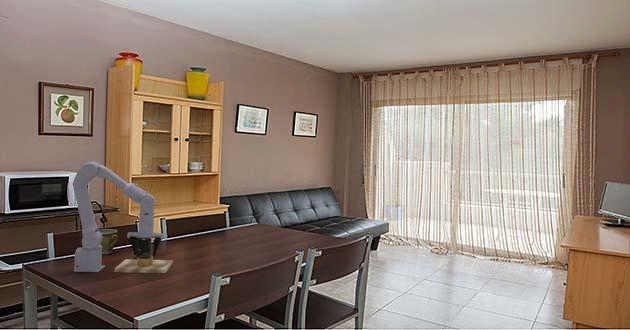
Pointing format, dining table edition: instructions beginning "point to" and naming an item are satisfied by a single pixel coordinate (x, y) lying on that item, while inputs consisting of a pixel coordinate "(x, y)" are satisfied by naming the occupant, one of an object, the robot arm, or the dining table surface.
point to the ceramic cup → (108, 240)
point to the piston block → (132, 266)
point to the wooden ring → (144, 261)
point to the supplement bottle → (144, 246)
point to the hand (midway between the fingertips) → (145, 255)
